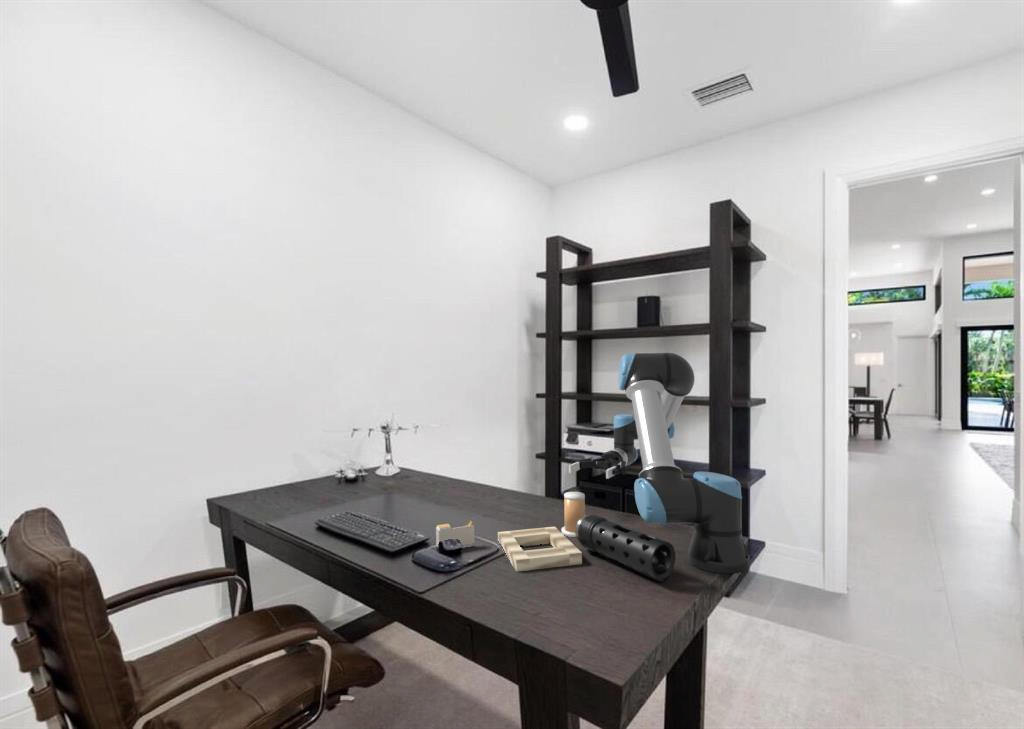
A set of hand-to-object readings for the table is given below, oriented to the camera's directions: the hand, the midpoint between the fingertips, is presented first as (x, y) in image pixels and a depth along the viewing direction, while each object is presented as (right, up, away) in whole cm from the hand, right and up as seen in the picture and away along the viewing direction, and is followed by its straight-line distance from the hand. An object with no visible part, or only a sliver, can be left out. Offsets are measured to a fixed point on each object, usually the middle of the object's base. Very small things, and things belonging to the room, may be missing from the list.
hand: (587, 471), depth 164 cm
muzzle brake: (+4, -18, -33) cm, 37 cm away
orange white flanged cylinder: (-5, -18, -8) cm, 20 cm away
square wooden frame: (-18, -18, -24) cm, 35 cm away
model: (-42, -19, -19) cm, 50 cm away
